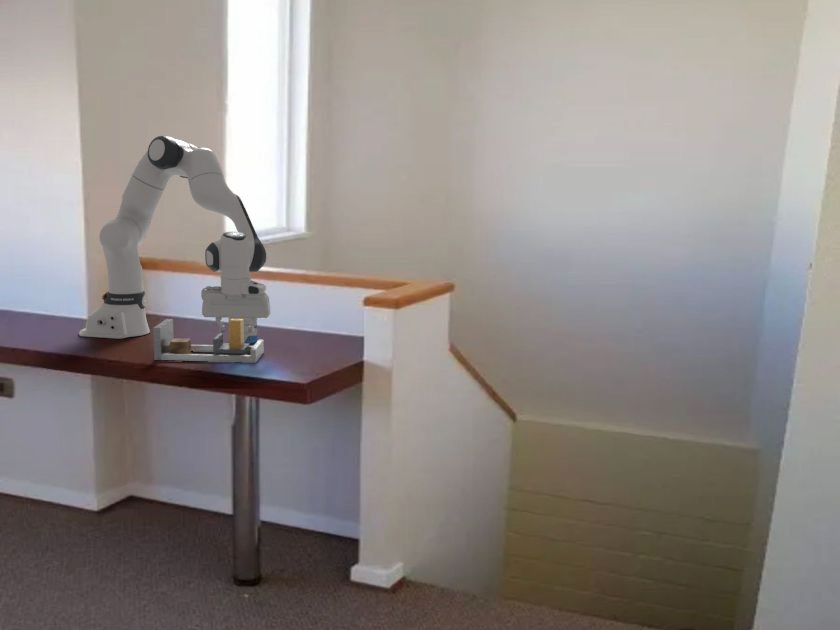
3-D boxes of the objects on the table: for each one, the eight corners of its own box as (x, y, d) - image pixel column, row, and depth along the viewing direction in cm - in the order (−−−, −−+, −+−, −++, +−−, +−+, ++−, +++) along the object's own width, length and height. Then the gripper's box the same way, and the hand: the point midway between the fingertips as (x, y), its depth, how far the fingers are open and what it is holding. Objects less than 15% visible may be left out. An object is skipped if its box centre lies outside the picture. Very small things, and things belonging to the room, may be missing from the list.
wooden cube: (170, 358, 269) (169, 341, 268) (175, 354, 274) (174, 338, 273) (187, 358, 269) (186, 342, 268) (191, 354, 274) (190, 338, 273)
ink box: (254, 340, 295) (254, 305, 293) (257, 343, 290) (257, 307, 288) (228, 341, 292) (227, 306, 290) (231, 345, 287) (230, 309, 285)
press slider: (213, 359, 267) (212, 323, 265) (219, 352, 276) (218, 317, 274) (243, 359, 267) (243, 323, 265) (249, 352, 276) (248, 317, 274)
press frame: (154, 360, 264) (153, 327, 262) (167, 350, 278) (166, 318, 276) (255, 362, 264) (255, 329, 263) (263, 352, 278) (263, 320, 276)
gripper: (198, 287, 264) (199, 333, 267) (267, 289, 264) (268, 334, 267) (203, 284, 270) (204, 329, 273) (271, 285, 271) (271, 330, 273)
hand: (236, 331), depth 270 cm, fingers open, 7 cm apart
